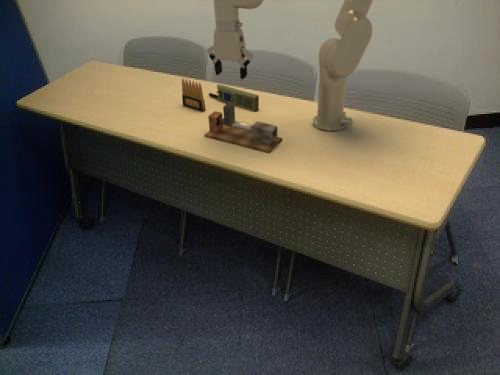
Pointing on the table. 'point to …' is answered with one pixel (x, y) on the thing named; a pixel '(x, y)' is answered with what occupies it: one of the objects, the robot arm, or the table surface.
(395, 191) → the table surface
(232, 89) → the handheld radio
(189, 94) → the ammunition clip
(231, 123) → the tube
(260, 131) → the tube stand
